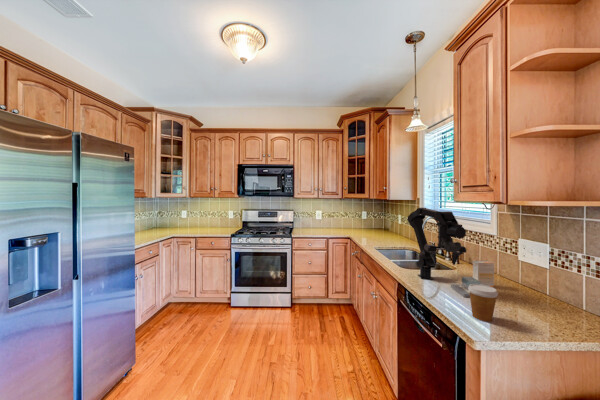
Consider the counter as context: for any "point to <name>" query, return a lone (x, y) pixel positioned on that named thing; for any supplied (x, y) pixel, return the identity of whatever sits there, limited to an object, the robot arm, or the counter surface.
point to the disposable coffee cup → (482, 301)
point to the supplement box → (484, 272)
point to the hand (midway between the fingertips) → (444, 264)
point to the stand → (461, 290)
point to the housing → (469, 282)
